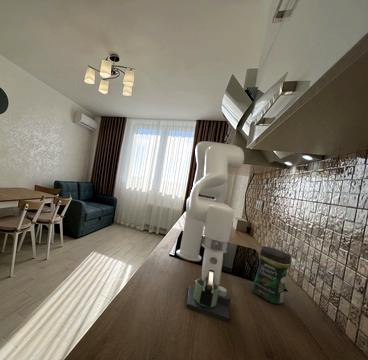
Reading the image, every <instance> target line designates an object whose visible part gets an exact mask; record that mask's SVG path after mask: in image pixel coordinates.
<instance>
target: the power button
mask: <svg viewBox="0 0 368 360" xmlns="http://www.w3.org/2000/svg"><path fill="white" fill-rule="evenodd" d="M218 287H219V293H218V295H219V296H222V297H226V292H227V293H228V290H227V289H226V288H225V287H224V286H221V285H218Z"/></svg>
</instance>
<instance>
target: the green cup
mask: <svg viewBox="0 0 368 360" xmlns="http://www.w3.org/2000/svg"><path fill="white" fill-rule="evenodd" d="M206 281H208V280H206ZM203 285H204V281H203V280H202V278H197V279H195V283H194V287H193V288H194V293H193V297H194V299H195V300H196V302H198V303H199V304H200V297H201V291H202V290H203ZM206 285H207V283H206ZM218 286H219V285H218ZM218 286H217V285H215V282H214V287H213V297H212V303H211V307H213V306H215V305H216V304H217V298H218V293H219V287H218ZM201 305H202V304H201ZM203 306H205V305H203ZM206 307H208V306H206Z"/></svg>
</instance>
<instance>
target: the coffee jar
mask: <svg viewBox="0 0 368 360" xmlns="http://www.w3.org/2000/svg"><path fill="white" fill-rule="evenodd" d="M258 258H259V265H258V268H257V272H256V276H255V277H254V281H253V284H252V288H251V290H252V293H254V294H255V295H257V296H258V297H260V298H261V299H262V300H265V301H266V302H269V303H270V304H275V305H280V304H283V302H284V299H285V287H286V280H287V273H288V270H289V269H290V267H291V265H292V260H291V259H292V255H291V254H290V253H288V252H286V251H283V250H280V249H277V248H275V247H272V246H268V245H267V246H266V245H264V246H262V247H261V248H260V250H259V253H258Z"/></svg>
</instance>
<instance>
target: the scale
mask: <svg viewBox="0 0 368 360" xmlns="http://www.w3.org/2000/svg"><path fill="white" fill-rule="evenodd" d="M194 288H195V287H193V286H190V285H189V286H188V293H187V299H186V308H188V309H190V310H193V311H196V312H198V313H201V314H205V315H207V316H210V317H213V318H216V319H219V320H221V321H225V322H226V323H231V316H230V313H229V307H228V305H229V304H230V303H231V299H232V296H231V295H230V294H229V292H228V291H227V292H226V297H222V296H219V295H218V298H217V304H216V305H215V306H213V307H206V306H203V305H201V304H199V303H198V302H196V300H195V299H194V297H193V293H194Z"/></svg>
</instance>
